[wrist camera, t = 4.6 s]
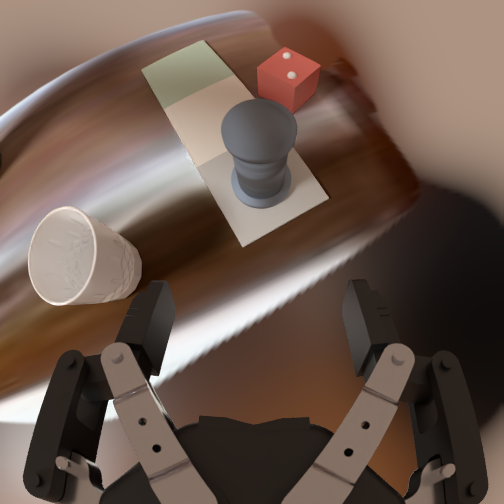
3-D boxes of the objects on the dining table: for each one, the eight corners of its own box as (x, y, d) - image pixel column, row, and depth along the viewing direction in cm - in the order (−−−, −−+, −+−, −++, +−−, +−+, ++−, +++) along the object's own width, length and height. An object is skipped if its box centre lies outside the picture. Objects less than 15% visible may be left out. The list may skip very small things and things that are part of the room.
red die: (291, 115, 31) (295, 84, 25) (258, 94, 31) (256, 64, 26) (315, 92, 31) (321, 62, 26) (283, 74, 32) (284, 43, 26)
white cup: (162, 263, 29) (115, 245, 19) (119, 321, 28) (61, 326, 18) (114, 219, 30) (62, 188, 20) (76, 273, 29) (17, 261, 19)
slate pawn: (250, 219, 28) (242, 178, 19) (221, 172, 29) (203, 117, 20) (302, 191, 29) (317, 139, 19) (271, 146, 30) (272, 85, 20)
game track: (243, 247, 28) (242, 247, 28) (141, 71, 33) (140, 69, 33) (328, 199, 29) (328, 198, 28) (203, 41, 34) (202, 39, 33)
